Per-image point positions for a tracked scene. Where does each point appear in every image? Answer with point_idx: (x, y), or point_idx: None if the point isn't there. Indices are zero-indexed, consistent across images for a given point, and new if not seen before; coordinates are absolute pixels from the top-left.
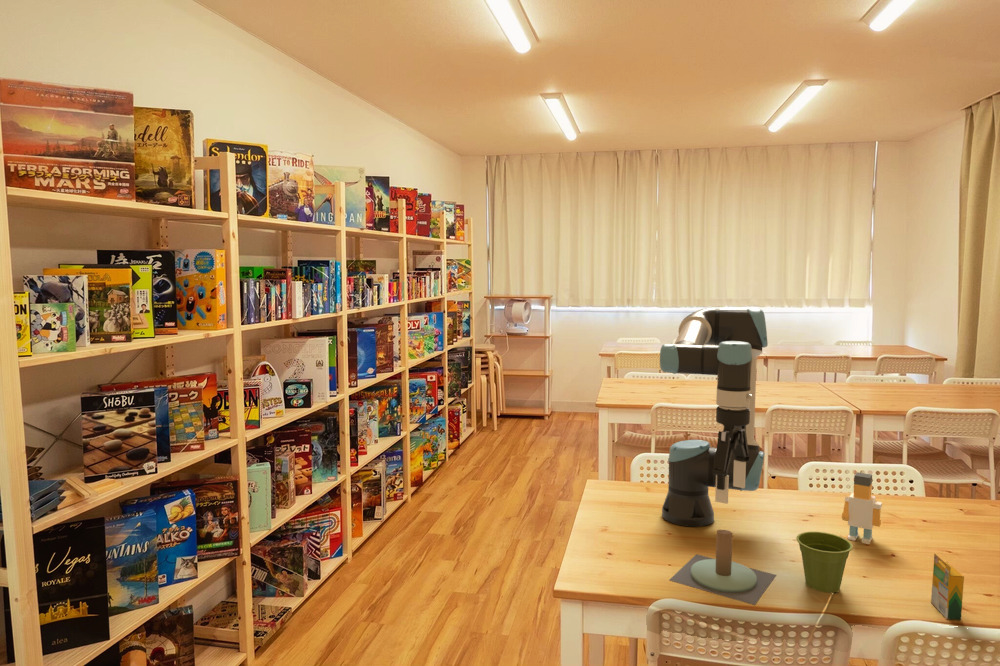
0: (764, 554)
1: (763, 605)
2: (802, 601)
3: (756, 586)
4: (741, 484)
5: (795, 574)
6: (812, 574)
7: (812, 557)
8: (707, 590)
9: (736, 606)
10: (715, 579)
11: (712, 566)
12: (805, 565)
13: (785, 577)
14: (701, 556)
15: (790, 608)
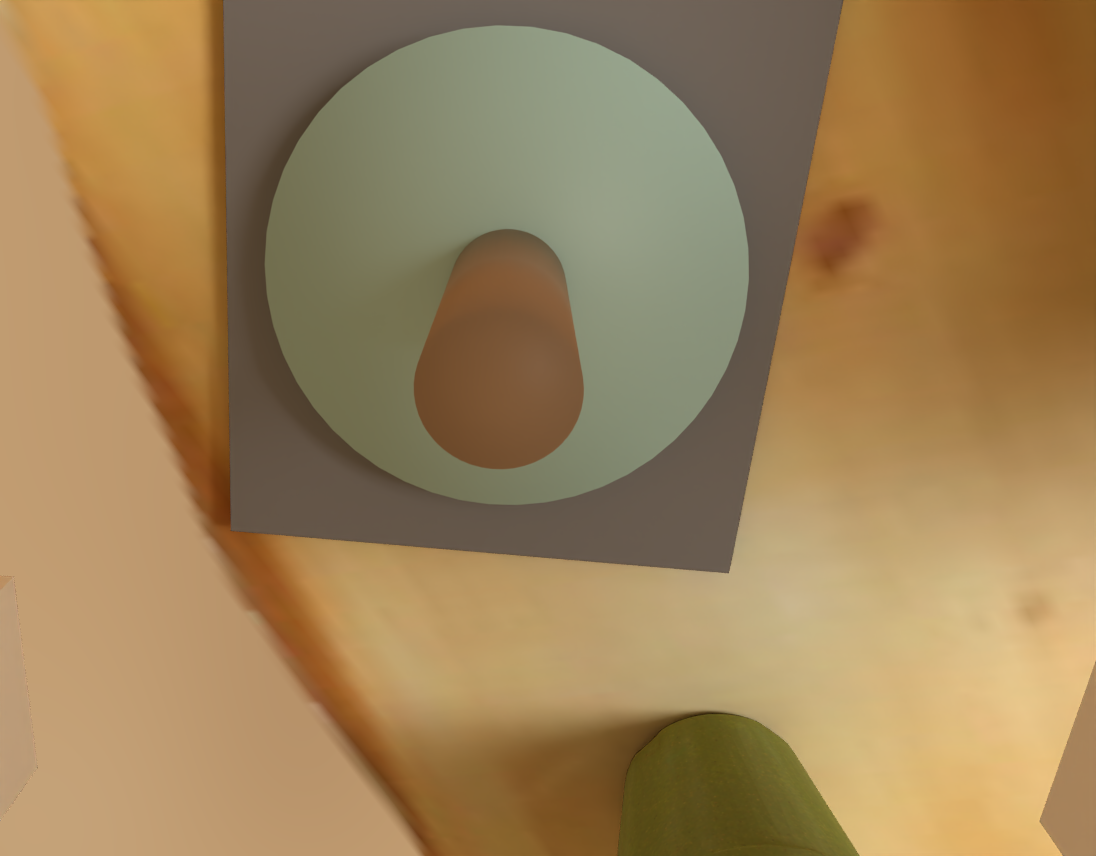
0: (1080, 444)
1: (295, 558)
2: (473, 719)
3: None
4: (1092, 828)
5: (822, 649)
6: (628, 824)
7: None
8: (235, 228)
9: (181, 430)
10: (359, 262)
11: (576, 187)
12: (667, 815)
13: (750, 608)
14: (817, 28)
15: (350, 680)
